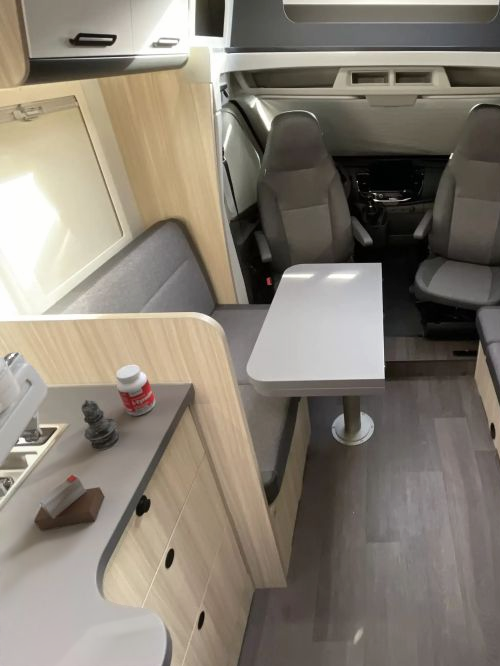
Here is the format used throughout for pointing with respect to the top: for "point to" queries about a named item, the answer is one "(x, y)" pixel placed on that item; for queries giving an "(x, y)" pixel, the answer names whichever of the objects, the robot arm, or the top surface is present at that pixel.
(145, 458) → the top surface
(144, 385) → the pill bottle
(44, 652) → the top surface
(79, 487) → the grey rectangular block
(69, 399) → the top surface
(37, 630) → the top surface
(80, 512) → the brown block
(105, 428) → the dark chess piece
